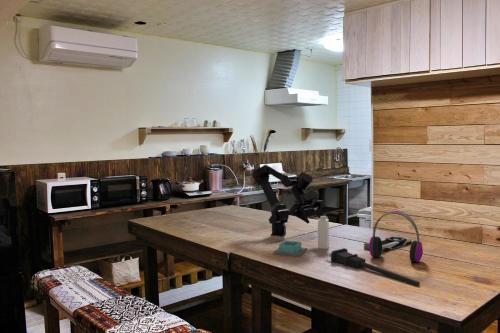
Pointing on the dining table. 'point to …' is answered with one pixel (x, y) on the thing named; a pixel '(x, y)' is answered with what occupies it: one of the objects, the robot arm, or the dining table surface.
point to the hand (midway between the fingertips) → (316, 221)
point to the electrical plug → (364, 264)
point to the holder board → (290, 249)
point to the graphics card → (392, 243)
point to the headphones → (415, 246)
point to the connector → (323, 232)
